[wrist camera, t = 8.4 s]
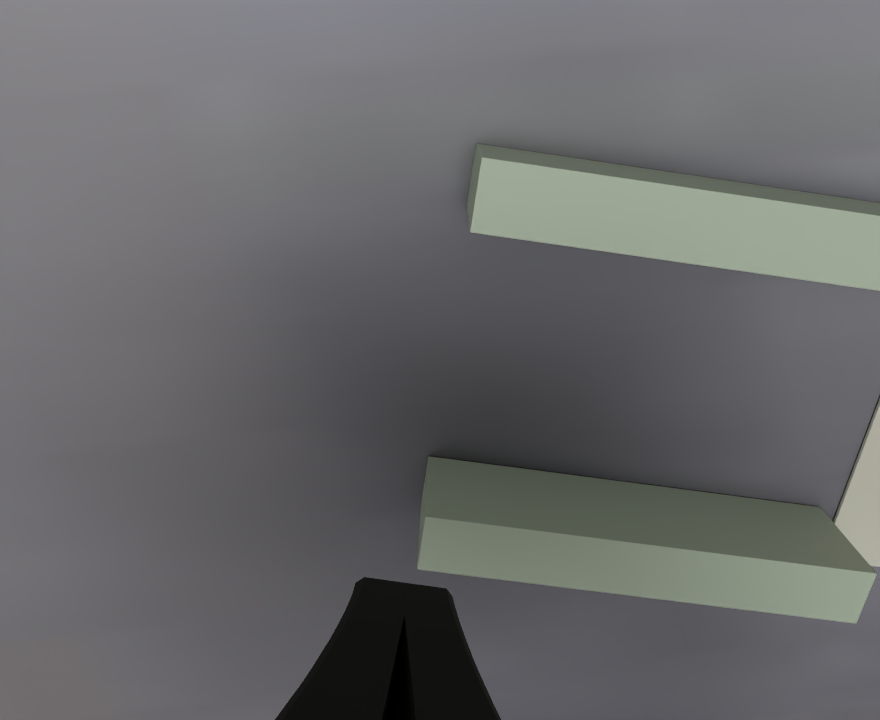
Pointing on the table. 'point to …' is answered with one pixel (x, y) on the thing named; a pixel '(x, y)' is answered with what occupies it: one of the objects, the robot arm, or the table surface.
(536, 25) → the table surface
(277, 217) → the table surface
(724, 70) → the table surface
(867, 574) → the rails
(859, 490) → the mat
